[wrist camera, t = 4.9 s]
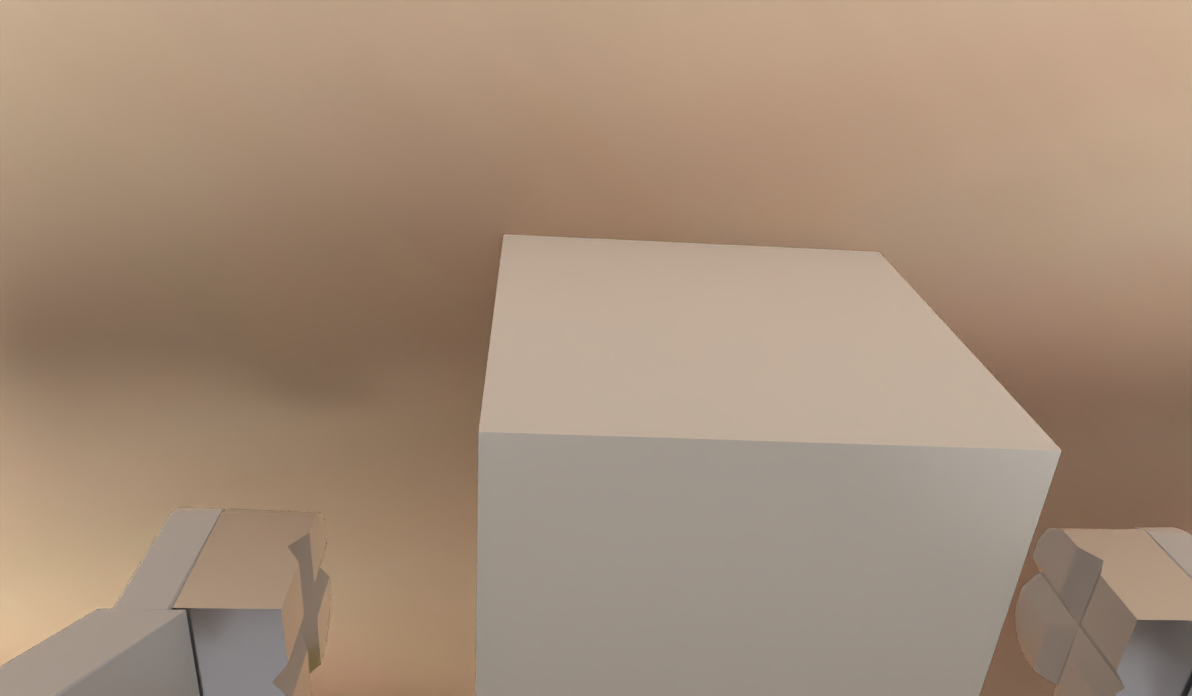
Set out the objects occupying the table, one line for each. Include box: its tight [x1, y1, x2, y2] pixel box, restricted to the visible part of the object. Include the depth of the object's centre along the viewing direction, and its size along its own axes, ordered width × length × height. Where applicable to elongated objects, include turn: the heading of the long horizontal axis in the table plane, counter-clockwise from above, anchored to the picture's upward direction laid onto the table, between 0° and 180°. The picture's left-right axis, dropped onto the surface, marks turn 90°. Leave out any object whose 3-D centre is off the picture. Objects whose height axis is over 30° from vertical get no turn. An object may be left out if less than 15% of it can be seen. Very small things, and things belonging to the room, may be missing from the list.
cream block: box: [475, 234, 1062, 696], centre depth 11 cm, size 5×5×5 cm
